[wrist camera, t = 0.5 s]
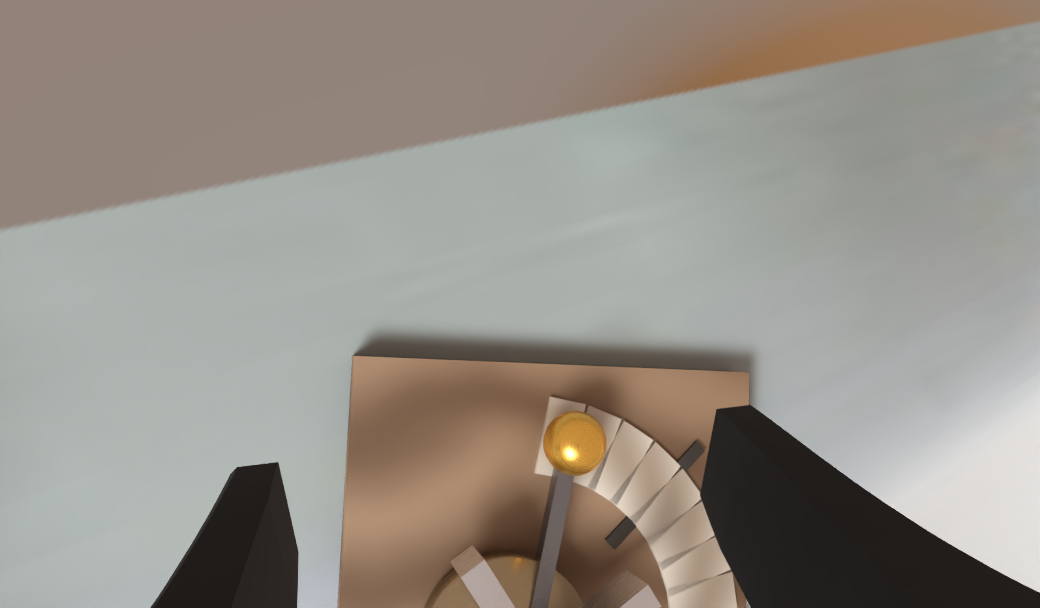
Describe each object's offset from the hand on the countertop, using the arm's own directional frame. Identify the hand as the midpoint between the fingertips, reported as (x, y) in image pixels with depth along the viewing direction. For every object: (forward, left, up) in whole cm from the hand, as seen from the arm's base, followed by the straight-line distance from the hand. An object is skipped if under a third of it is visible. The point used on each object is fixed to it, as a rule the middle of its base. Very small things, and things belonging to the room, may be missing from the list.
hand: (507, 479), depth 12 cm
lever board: (-9, -9, -24) cm, 28 cm away
